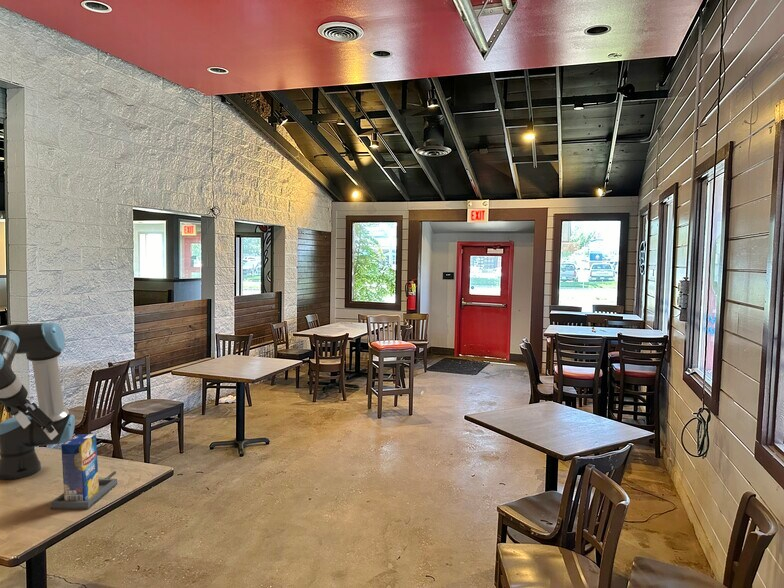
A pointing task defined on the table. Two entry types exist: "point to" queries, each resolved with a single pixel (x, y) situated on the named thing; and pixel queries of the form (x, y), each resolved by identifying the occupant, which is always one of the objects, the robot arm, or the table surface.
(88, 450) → the beverage box
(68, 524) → the table surface
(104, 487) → the grey tray with handle
